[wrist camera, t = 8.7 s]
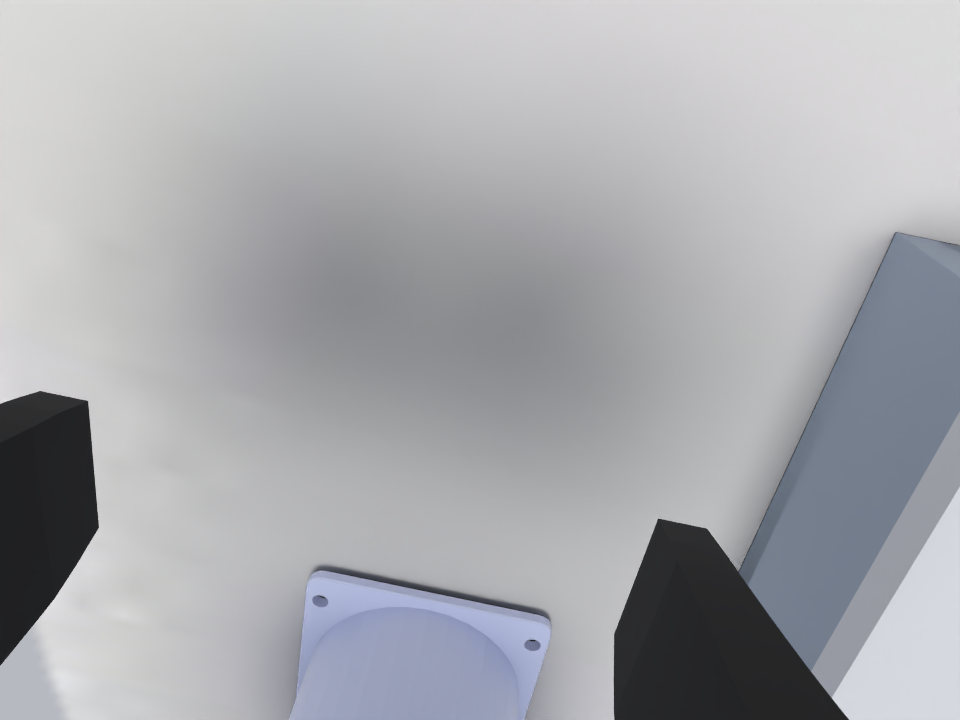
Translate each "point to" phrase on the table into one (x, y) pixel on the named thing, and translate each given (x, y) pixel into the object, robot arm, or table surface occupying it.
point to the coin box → (878, 504)
